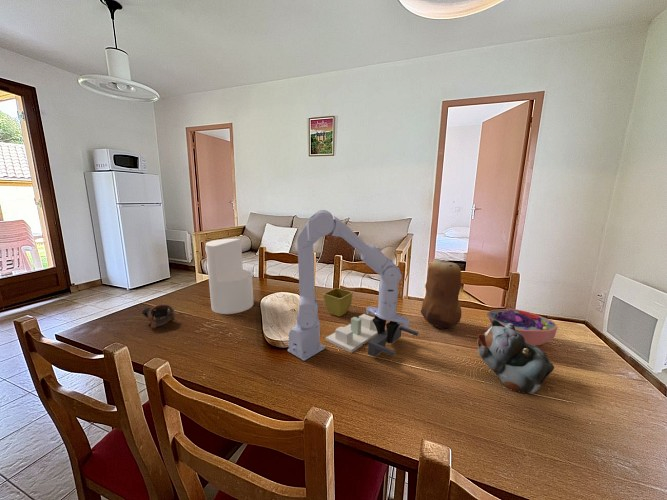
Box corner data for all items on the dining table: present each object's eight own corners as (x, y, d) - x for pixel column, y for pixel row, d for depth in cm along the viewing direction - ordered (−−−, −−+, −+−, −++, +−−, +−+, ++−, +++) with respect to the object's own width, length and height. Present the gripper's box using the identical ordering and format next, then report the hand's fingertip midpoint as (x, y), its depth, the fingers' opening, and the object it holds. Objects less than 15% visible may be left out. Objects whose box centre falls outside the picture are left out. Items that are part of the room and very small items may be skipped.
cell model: (566, 359, 84) (573, 325, 82) (494, 351, 88) (499, 319, 86) (538, 332, 100) (543, 303, 98) (478, 326, 104) (482, 298, 102)
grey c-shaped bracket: (392, 365, 79) (393, 353, 78) (367, 353, 84) (368, 341, 83) (417, 343, 90) (418, 332, 90) (394, 334, 96) (395, 323, 95)
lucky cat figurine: (526, 403, 67) (497, 343, 68) (481, 388, 79) (457, 337, 80) (566, 367, 73) (539, 312, 73) (518, 358, 85) (496, 312, 86)
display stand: (351, 352, 87) (351, 334, 86) (325, 340, 94) (325, 323, 93) (383, 330, 101) (384, 314, 99) (359, 321, 108) (359, 306, 107)
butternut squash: (452, 318, 111) (459, 257, 105) (464, 335, 98) (473, 267, 92) (417, 316, 112) (421, 256, 107) (424, 333, 99) (430, 265, 94)
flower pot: (340, 320, 108) (340, 298, 106) (322, 314, 114) (322, 293, 112) (352, 312, 115) (353, 292, 113) (335, 307, 120) (336, 287, 118)
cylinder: (202, 310, 116) (195, 244, 110) (228, 295, 132) (224, 237, 126) (237, 316, 111) (232, 247, 105) (261, 300, 127) (257, 240, 121)
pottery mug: (181, 317, 111) (179, 304, 106) (168, 337, 104) (165, 325, 99) (150, 310, 110) (146, 297, 105) (134, 330, 103) (130, 317, 97)
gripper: (415, 303, 84) (412, 343, 87) (375, 291, 94) (373, 328, 97) (404, 310, 79) (401, 353, 82) (363, 296, 89) (361, 335, 91)
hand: (385, 340), depth 89 cm, fingers closed on grey c-shaped bracket, 2 cm apart
